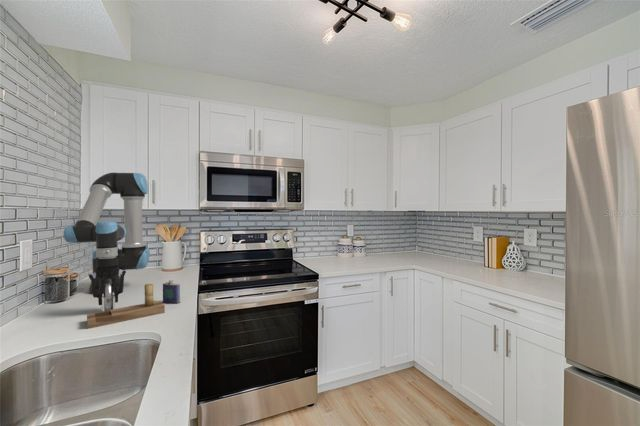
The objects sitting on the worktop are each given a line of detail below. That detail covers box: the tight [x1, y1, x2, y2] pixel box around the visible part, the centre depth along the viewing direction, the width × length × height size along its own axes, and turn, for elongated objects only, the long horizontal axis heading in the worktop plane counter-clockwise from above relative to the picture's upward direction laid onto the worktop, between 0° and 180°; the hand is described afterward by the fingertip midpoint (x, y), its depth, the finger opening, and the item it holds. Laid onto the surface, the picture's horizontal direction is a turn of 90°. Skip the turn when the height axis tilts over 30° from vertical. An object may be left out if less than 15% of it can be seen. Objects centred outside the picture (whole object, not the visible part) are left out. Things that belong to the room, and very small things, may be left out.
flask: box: [162, 279, 181, 305], centre depth 140 cm, size 9×3×11 cm, turn 74°
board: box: [86, 283, 166, 329], centre depth 122 cm, size 9×26×12 cm, turn 130°
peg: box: [103, 283, 114, 311], centre depth 128 cm, size 3×3×12 cm
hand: (108, 311), depth 128 cm, fingers closed on peg, 3 cm apart
